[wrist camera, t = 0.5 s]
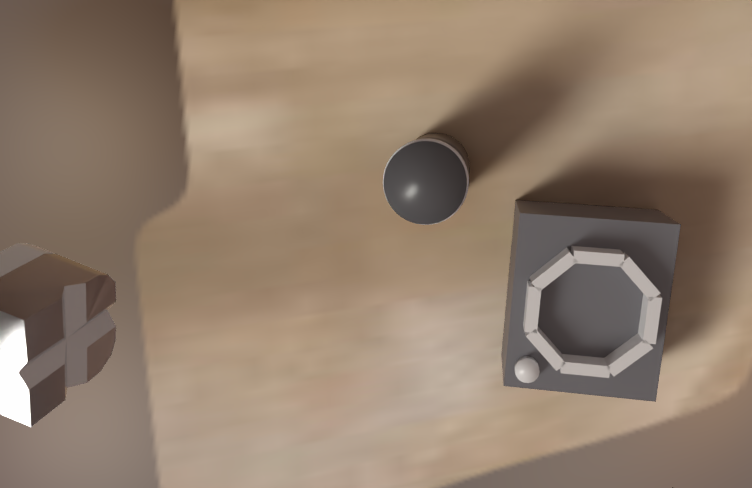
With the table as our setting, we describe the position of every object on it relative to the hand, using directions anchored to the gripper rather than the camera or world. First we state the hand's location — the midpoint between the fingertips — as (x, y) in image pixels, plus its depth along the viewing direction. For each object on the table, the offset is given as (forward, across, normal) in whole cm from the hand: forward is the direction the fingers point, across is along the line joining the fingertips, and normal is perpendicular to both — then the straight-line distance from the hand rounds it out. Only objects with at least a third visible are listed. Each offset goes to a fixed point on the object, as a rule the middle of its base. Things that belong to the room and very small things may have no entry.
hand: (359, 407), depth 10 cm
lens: (+41, +8, +12) cm, 44 cm away
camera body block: (+42, -4, +18) cm, 45 cm away
